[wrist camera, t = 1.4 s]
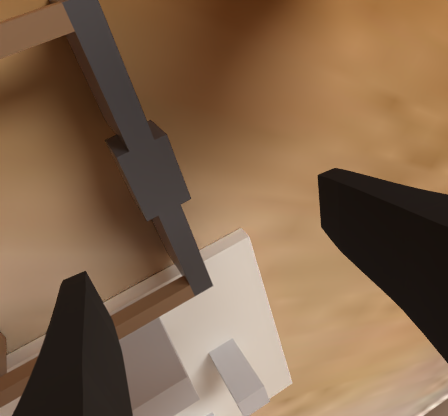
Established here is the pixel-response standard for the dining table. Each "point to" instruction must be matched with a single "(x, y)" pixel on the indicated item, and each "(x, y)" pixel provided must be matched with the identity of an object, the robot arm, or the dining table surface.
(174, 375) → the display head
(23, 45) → the glasses
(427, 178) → the dining table surface
